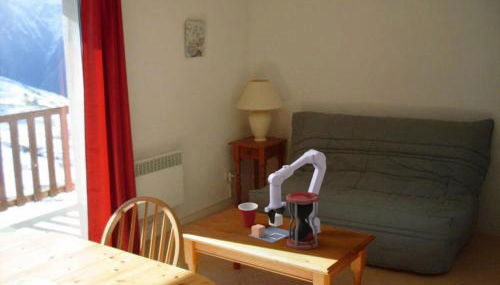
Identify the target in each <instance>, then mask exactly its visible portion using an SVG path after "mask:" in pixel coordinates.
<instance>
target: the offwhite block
mask: <svg viewBox="0 0 500 285" xmlns="http://www.w3.org/2000/svg"><path fill="white" fill-rule="evenodd" d="M283 215H284V214H283ZM283 215H280V214H277V212H276V214H275V222H274V224H272V223H270V219H269V218H268V225H270V226H271V227H276V228H278V227H279V226H281V225H283V223H284V222H283V221H284V220H283V217H284V216H283Z"/></svg>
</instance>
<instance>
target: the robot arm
mask: <svg viewBox="0 0 500 285" xmlns="http://www.w3.org/2000/svg"><path fill="white" fill-rule="evenodd" d="M326 159H327V156H325V154H324V152H321V151H318V150H315V148H314V149H313V148H312V149H309V150H308V151H305V152H304V154H303V155H301V156H300V157H299V158H298V159H297V160H295V161H294V162H292V163H291V164H288V165H287V164H286V165H282V168H280V169H279V170H277V171H275V172H273V173H271V174H270V175H268V178H267V181H268V183H269V204H268V205H267V206H266V207H264V212H265V213H266V215H267V216H268V220H269V219H270V223H272V224H274V222H275V214H276V213H277V214H280V215H284V213H285V211H286V206H287V201H282V184H283V183H284V181H285V180H286V179H288V178H289V177H291V176H293V175H294V171H296V170H298V169H299V168H300V167H302V166H304V165H306V164H312V165H313V167H314V172H313V175H312V178H311V181H310V184H309V187H308V191H307V192H311V193H315V194H317V195H318V196H319V193H320V189H321V187H322V186H321V185H322V183H323V181H324V177H325V173H326V171H327V161H326ZM318 206H319V204H318V203H317V207H318ZM314 215H315V202H314V203H313V211H312V213H311V214H310V215H309V221H310V226H311V227H312V229H313V236H315V229H314V227H313V226H312V223H311V221H312V218H313V217H314ZM305 221H306V222H307V220H306V219H305ZM307 223H308V222H307ZM314 224H315V226H316V228H317V234H319V233H321V232H322V230H321V220H320V218H318V217H317V216H316V218H315V219H314Z"/></svg>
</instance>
